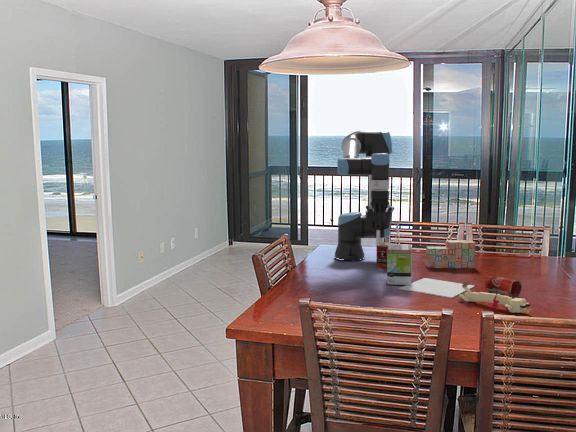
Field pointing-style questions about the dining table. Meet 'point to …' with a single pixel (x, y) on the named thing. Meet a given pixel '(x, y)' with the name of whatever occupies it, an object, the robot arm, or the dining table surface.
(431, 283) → the mat
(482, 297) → the cat figure
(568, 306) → the dining table surface
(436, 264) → the stack of blocks
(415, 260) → the dining table surface
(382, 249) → the canned food
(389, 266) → the tea box
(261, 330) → the dining table surface
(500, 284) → the beverage can
